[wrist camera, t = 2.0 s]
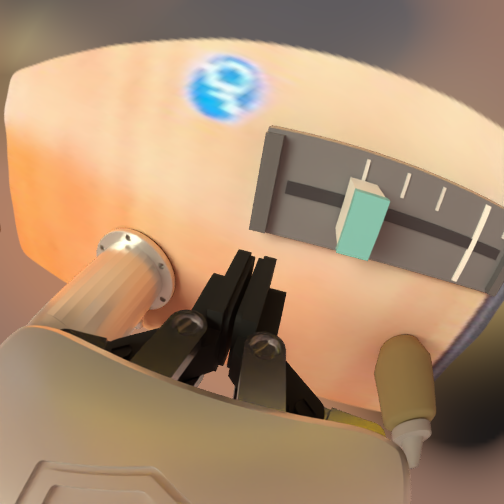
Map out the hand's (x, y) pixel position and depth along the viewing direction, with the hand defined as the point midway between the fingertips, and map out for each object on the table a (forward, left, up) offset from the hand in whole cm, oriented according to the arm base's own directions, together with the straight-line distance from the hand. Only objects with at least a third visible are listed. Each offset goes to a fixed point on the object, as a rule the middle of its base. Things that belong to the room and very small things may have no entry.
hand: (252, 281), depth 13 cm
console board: (0, -12, -17) cm, 21 cm away
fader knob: (0, -6, -14) cm, 16 cm away
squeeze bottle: (-18, -20, -17) cm, 32 cm away
